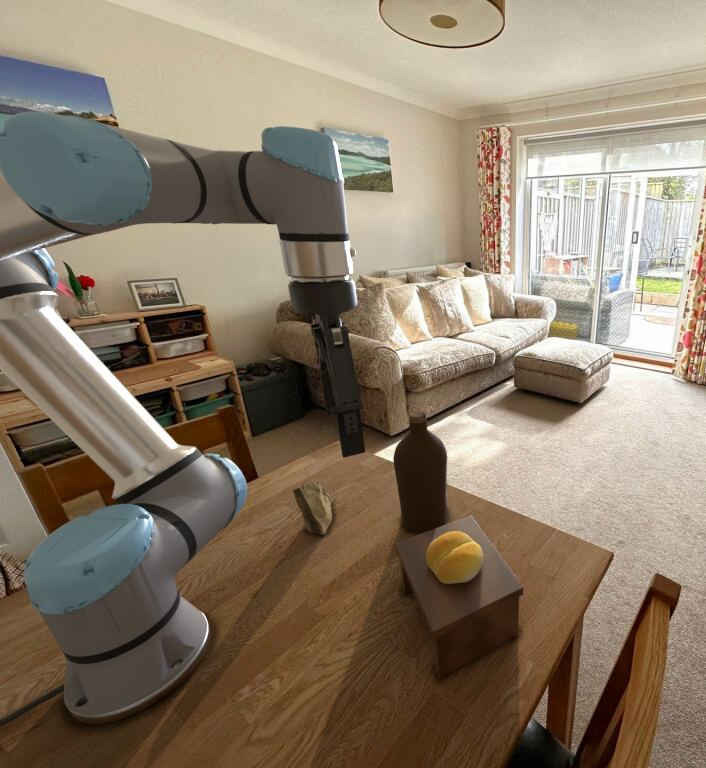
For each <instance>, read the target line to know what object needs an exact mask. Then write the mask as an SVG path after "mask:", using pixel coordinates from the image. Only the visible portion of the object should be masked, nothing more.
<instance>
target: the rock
mask: <svg viewBox="0 0 706 768" xmlns="http://www.w3.org/2000/svg"><path fill="white" fill-rule="evenodd" d="M292 493H293V496H294V499H295V502H296V504H297V506H298V508H299V511H300V512H301V516H302V519H303V523H304V525H305V529H306V530H307V531H308V532H310V533H313V534H314V535H322V536H325V535H326V534H327V531H328V528H329V526H330V525H331V523H332V518H333V515H332V506H331V505H332V503H333V498H332V497H331V495H330V494H329V493H328V491H327V490H326V489H325V488H324V487H322V486H321V484H320V481H319V480H315V481H307V482H304V483H303V484H301V486H298V487H295V488H293V489H292Z"/></svg>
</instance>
